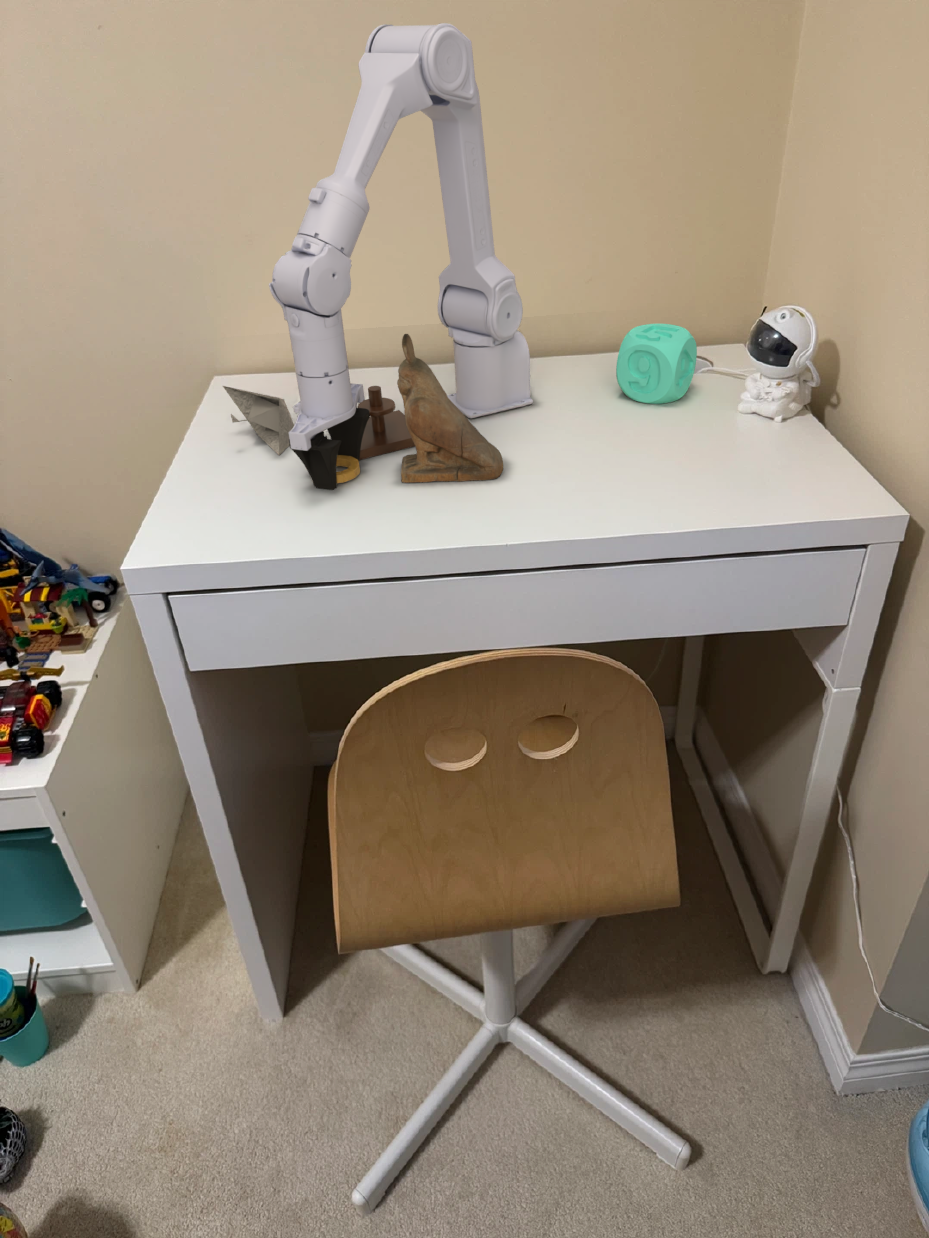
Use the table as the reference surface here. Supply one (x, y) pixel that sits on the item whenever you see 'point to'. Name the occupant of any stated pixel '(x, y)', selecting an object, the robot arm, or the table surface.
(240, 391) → the paper boat
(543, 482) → the table surface
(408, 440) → the peg stand
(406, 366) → the worn brown figurine
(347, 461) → the brass ring
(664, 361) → the decorative dice
